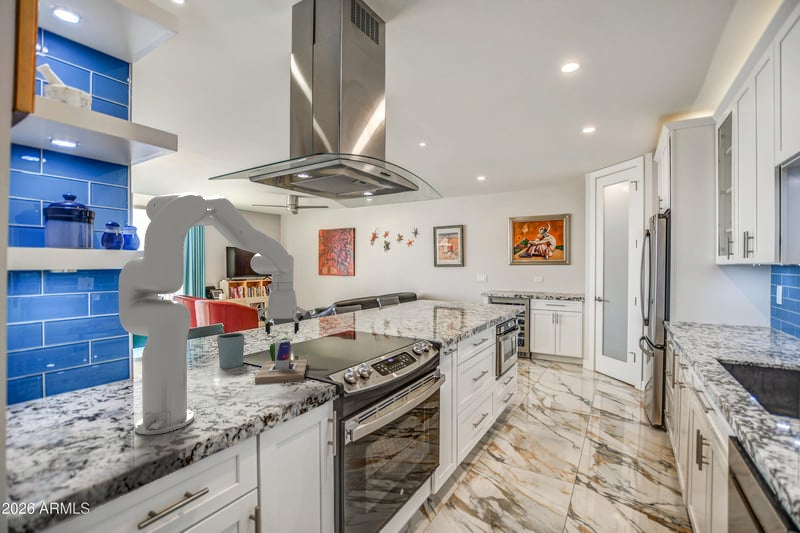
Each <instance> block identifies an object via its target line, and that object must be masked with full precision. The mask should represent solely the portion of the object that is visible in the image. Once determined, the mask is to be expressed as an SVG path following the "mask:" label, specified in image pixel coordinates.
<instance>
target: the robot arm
mask: <svg viewBox="0 0 800 533" xmlns="http://www.w3.org/2000/svg"><path fill="white" fill-rule="evenodd" d="M145 213H146V216H147V218H148V219H149V220H150V221H149V223H148V226H147V227H146V230H145V233H144V242H143V243H144V244H143V257H142V256H141V257H136V258H133V259H131V260H129V261H127V263H126V264H124V266H123V267H122V269H121V271H120V272H119V277H118V315H119V322H120V325H121V326H122V328H123V330H125V332H127V333H129V334H132V335H136V336H144V337H147V339H146V342H145V344H144V347H143V350H142V355H141V373H142V374H141V375H142V376H141V377H142V378H141V384H142V385H141V386H142V387H141V391H142V393H141V394H142V397H141V398H142V417H141V419H139V420H138V421H137V422H136V423H135V424H134V432H136V433H137V434H140V435H153V436H154V435H159V434H167V433H170V432H173V430H174V431H176V429H177V430H179V429H182V428H184V427H186V426H187V424H188V425H189V424H191V423H192V421H193V420H194V419H195V413H194V411H192V410H191V409H188V392H187V391H188V367H187V366H188V364H187V362H188V361H187V358H188V354H187V350H188V348H187V347H188V337H189V331H190V326H191V321H192V317H191V312H190V310H189V308H188V307H187V306H186V305H185V304H184V303H182V302H180V301H177V300H173V299H164V298H163V299H161V298H159V295H169V294H174V293H177V292H178V291H180V290H181V288H182V287H183V285H184V282H185V281H184V280H185V241H186V237H187V235H188V233H189V232H190V230H192V228H193V227H204V226H205V227H206V226H212V227H214V228H215V230H217V232H219V233H220V234H221V235H222V237H224V238H225V240H226V241H228V243H229V244H230V245H231V246H233V247H235V248H237V249H240V250H241V251H242V250H243V251H246V252H251V253H253V254H254V255H253V257H251V259H250V268H251V269H252V270H253V272H255V273H256V274H259V275H271V283H270V284H267V288H268V289H271V290H269V293H268V298H267V307H264V308H263V309H260V310H258V311H257V314H258V317H259V319H260V320H261V321H262V322H263V324H265V325H264V326H265V327H264V329H265V330H264V331H265V333H266V335H267V336H268V335H270V334H271V322H270V321H271V320H275V319H276V320H281V319H283V320H287V319H292V320H293V321H294V323H293V324H294V325H293V326H294V328H293V329H294V330H293V332H294V335H297V334H298V332H299V330H300V328H299V327H300V322H301V321H302V320H303V319H304V318H305V315H306V314H307V310H306V309H304V308H302V307H301V306H298V305H297V304H298V303H297V296H296V290H294V256H293V255H292V254H289V252H288V251H287V250H286V249H285V247H284V246H283V245H282V244H281V243H280V242H278V241H277V240H276V239H275V238H272V237H271V236H270V235H267V234H266V233H264V232H262V231H261V230H260V231H259V230H258V229H256V228H255V227H254V226H252V225H251V223H250V222H249V221H248V220H247V219H246V218H245V216H244V215H243V214H242V213H241V211H239V210H238V208H237V207H235V205H234V204H233V203H232V202H231V201H230V200H229V199H228V198H227V197H224V196H206V197H203V196H202V195H200V194H198V193H196V192H181V193H171V194H164V195H157V196H154V197H152V198H151V199H150V200H148V202H147V204H146V206H145ZM265 312H267V313H266V314H267V318H266V316H265V315H264V313H265ZM298 312H300V313H301V315H300V316H299V317H298V316H297V313H298ZM169 431H170V432H169Z"/></svg>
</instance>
